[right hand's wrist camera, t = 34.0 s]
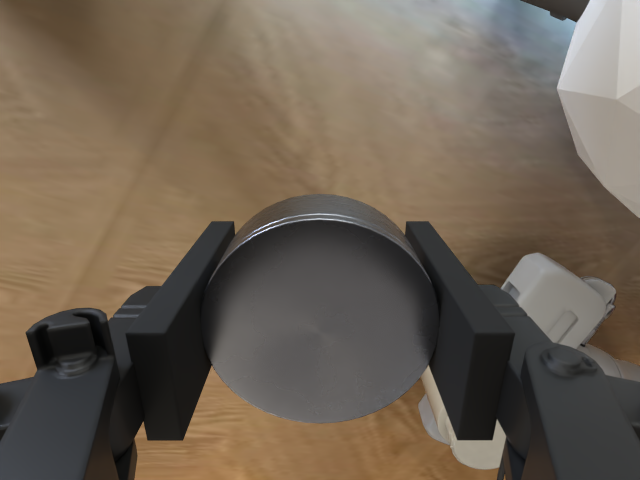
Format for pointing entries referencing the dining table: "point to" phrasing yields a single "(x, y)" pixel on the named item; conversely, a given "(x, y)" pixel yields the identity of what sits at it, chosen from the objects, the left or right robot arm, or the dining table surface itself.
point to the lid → (320, 311)
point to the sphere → (603, 90)
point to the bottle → (465, 451)
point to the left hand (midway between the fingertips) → (428, 327)
